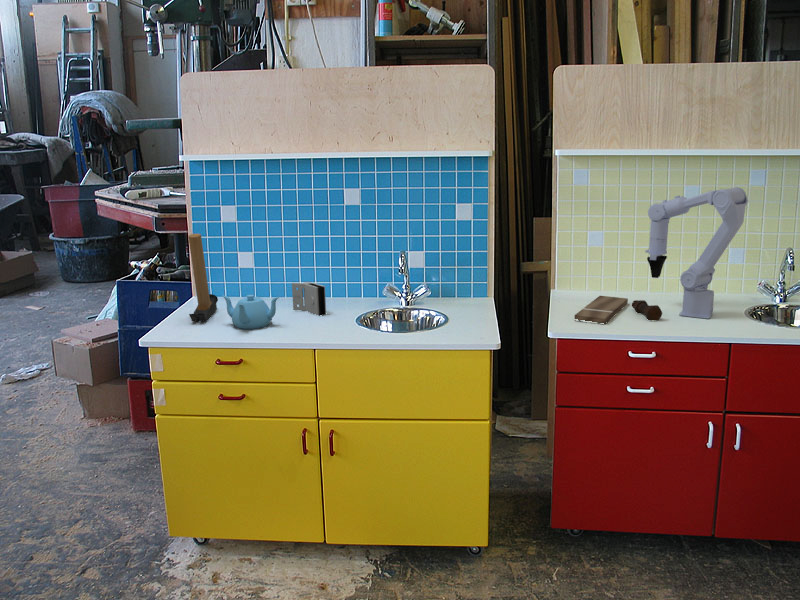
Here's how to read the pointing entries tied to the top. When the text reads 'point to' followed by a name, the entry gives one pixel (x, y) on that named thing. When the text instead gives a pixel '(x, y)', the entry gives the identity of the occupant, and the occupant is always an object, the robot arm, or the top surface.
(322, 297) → the hinge
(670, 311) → the top surface
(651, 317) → the bolt
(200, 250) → the hammer
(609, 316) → the plank
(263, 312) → the teapot
